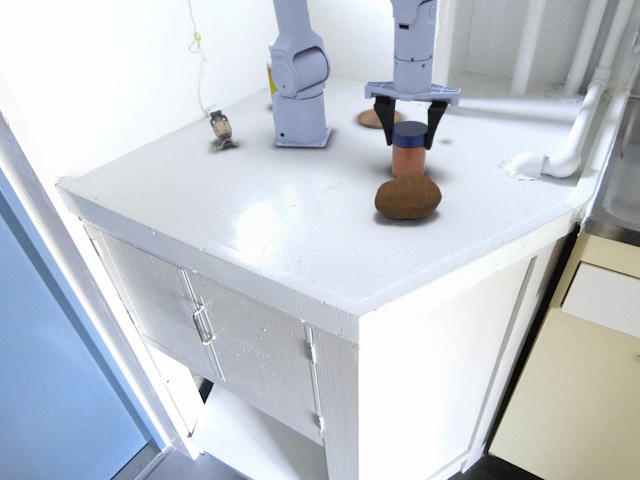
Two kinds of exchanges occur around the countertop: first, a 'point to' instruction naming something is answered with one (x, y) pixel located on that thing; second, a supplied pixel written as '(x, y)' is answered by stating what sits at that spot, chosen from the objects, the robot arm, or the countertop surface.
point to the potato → (408, 197)
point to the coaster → (374, 119)
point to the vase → (222, 129)
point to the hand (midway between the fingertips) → (409, 145)
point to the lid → (409, 134)
